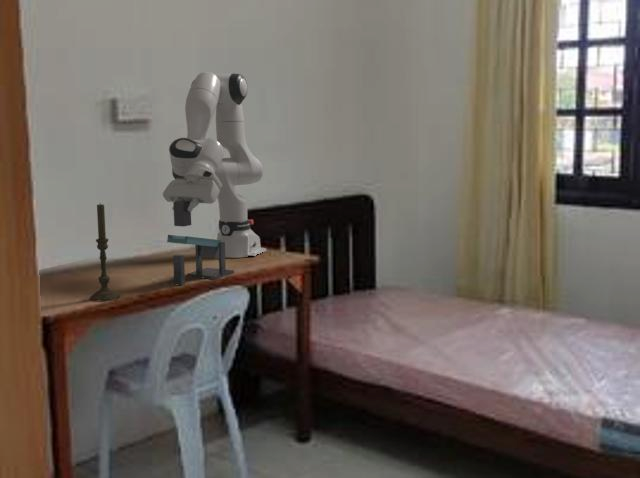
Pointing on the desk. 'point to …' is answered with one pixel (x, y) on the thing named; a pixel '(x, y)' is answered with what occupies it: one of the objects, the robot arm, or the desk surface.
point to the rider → (181, 213)
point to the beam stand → (200, 266)
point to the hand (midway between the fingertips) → (181, 210)
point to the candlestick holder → (103, 259)
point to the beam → (207, 245)
